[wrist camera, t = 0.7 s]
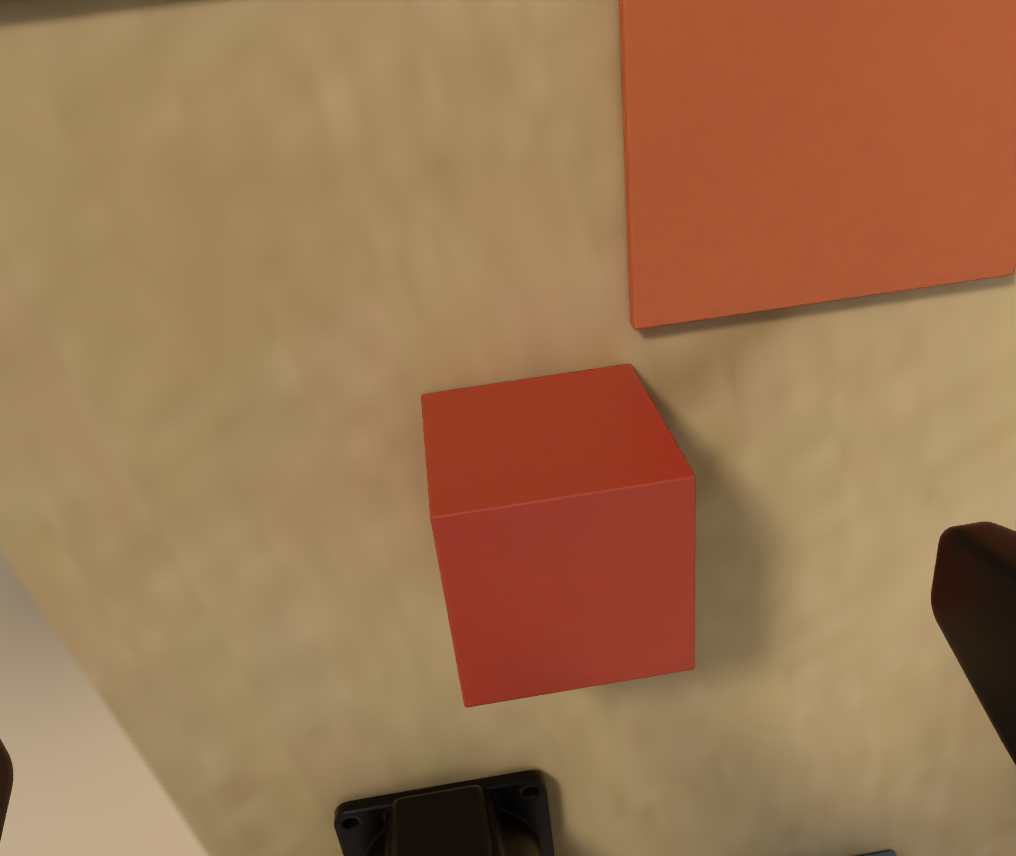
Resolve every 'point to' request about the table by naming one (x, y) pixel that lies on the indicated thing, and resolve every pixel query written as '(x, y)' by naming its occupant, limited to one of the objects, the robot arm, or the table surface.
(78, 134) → the table surface
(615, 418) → the red block
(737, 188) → the orange square mat
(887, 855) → the blue block
